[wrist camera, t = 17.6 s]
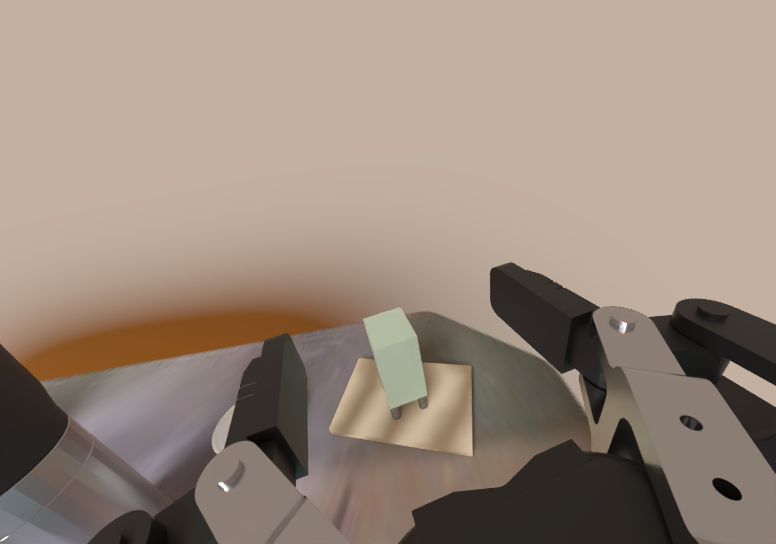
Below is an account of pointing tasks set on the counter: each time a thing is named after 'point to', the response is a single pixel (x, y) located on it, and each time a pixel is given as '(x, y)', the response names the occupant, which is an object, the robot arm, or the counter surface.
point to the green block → (396, 356)
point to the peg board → (410, 410)
